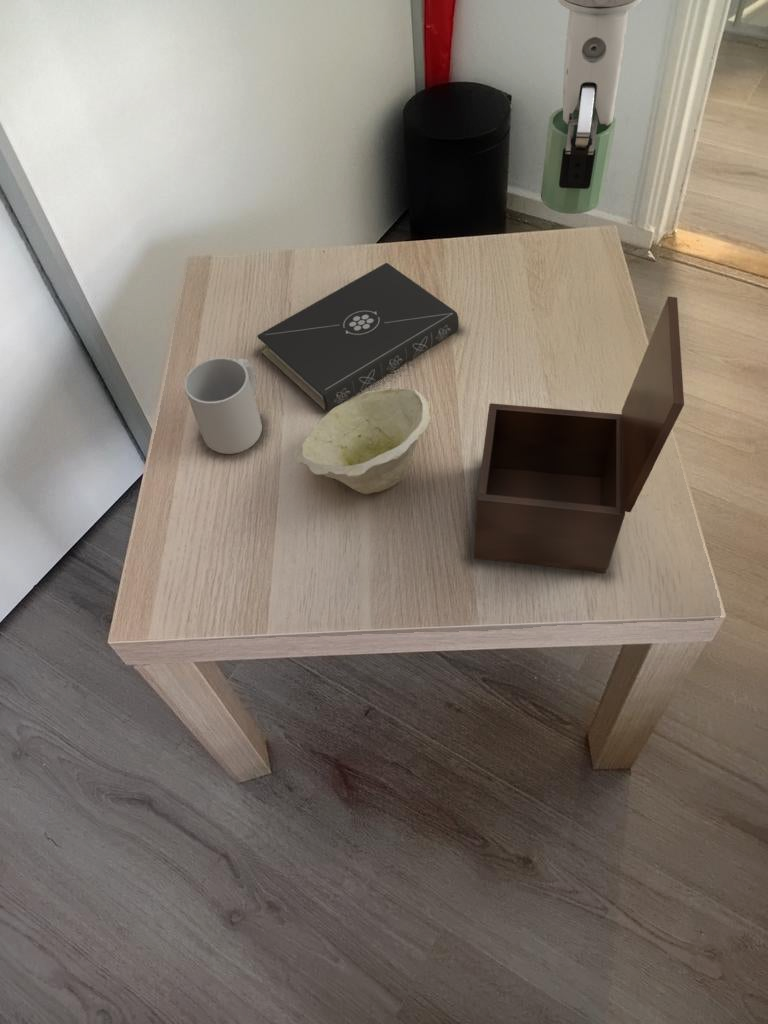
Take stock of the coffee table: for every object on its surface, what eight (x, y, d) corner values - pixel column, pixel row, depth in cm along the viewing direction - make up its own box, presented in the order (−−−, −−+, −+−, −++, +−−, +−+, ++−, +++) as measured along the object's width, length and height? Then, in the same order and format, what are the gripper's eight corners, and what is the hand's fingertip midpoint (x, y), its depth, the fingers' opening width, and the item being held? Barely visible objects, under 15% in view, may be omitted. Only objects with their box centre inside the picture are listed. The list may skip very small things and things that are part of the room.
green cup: (602, 181, 88) (615, 105, 82) (601, 215, 85) (614, 139, 78) (542, 178, 90) (550, 103, 83) (538, 212, 86) (546, 137, 79)
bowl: (365, 405, 96) (358, 343, 88) (456, 459, 90) (458, 398, 82) (279, 481, 90) (263, 421, 82) (371, 544, 84) (363, 487, 76)
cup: (192, 446, 94) (171, 393, 86) (233, 389, 99) (217, 335, 92) (244, 462, 92) (227, 410, 84) (284, 404, 97) (271, 350, 90)
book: (327, 414, 95) (325, 397, 93) (260, 352, 102) (256, 335, 100) (459, 332, 102) (459, 314, 100) (387, 279, 110) (386, 261, 107)
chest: (473, 558, 82) (477, 499, 74) (485, 465, 89) (489, 402, 81) (606, 573, 80) (625, 514, 72) (607, 477, 87) (624, 414, 79)
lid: (673, 403, 59) (684, 404, 59) (667, 296, 67) (677, 297, 67) (621, 511, 71) (630, 512, 71) (621, 410, 78) (629, 411, 78)
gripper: (646, 22, 64) (609, 216, 79) (644, -59, 74) (612, 126, 89) (554, 21, 66) (534, 212, 80) (564, -58, 75) (545, 124, 90)
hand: (575, 165), depth 84 cm, fingers closed on green cup, 6 cm apart
